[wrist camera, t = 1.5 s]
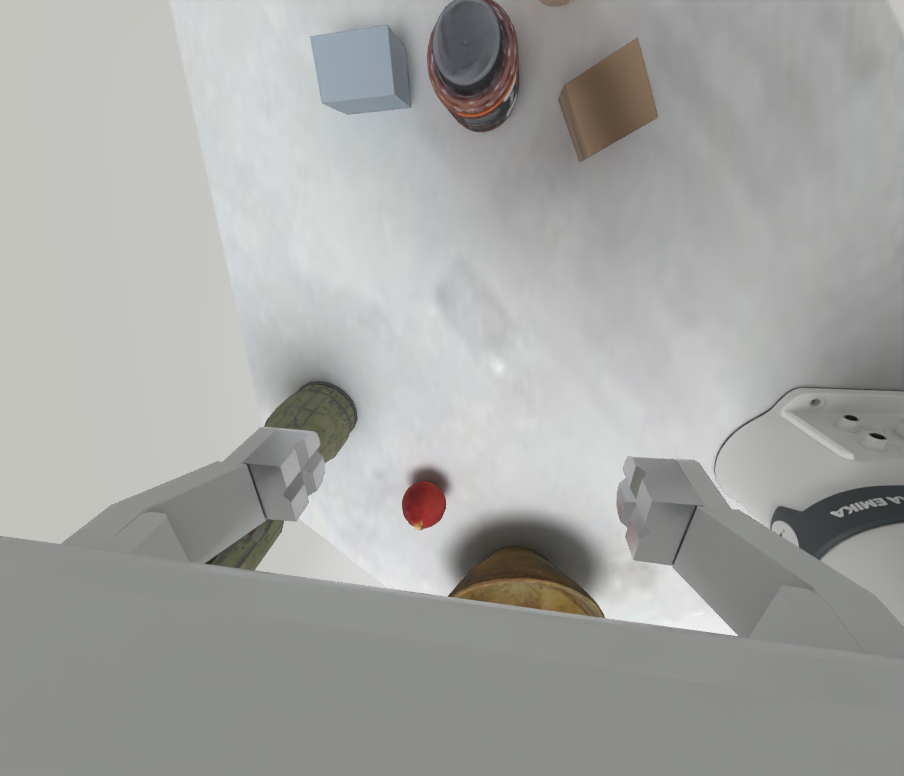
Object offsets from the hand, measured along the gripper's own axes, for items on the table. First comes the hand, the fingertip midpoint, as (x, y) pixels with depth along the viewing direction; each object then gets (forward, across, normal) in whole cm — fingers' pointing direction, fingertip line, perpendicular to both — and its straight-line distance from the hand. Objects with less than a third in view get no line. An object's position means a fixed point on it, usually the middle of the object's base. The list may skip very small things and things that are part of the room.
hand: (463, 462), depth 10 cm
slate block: (+32, +12, -15) cm, 37 cm away
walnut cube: (+32, -8, -12) cm, 35 cm away
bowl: (+32, -5, +46) cm, 56 cm away
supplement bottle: (+32, +2, -14) cm, 35 cm away
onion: (+32, +9, +30) cm, 45 cm away
